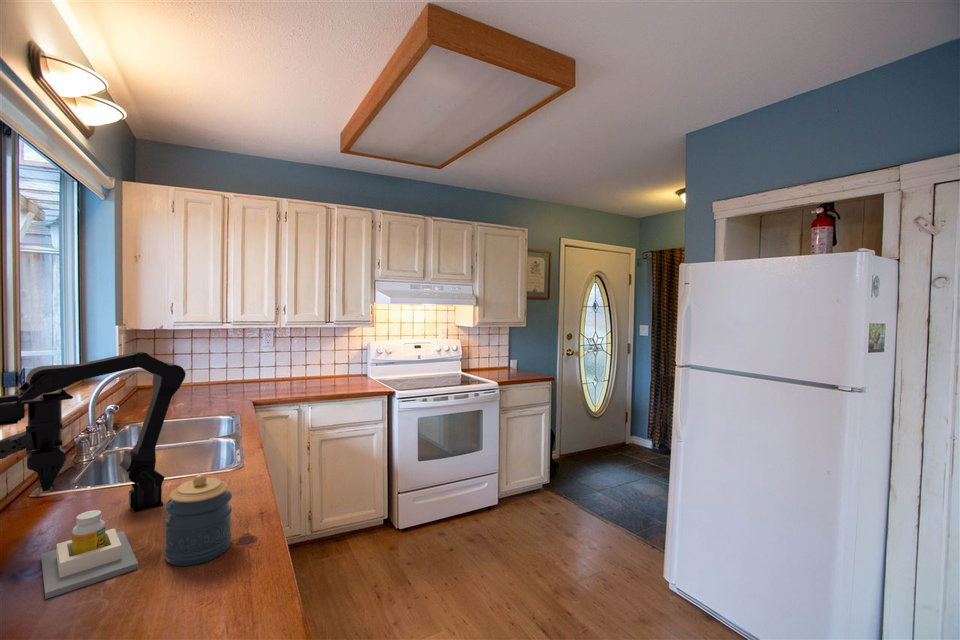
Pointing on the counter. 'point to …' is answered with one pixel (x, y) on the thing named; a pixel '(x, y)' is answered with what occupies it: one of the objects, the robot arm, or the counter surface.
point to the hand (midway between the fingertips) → (45, 484)
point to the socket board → (86, 564)
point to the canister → (197, 521)
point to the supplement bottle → (88, 532)
